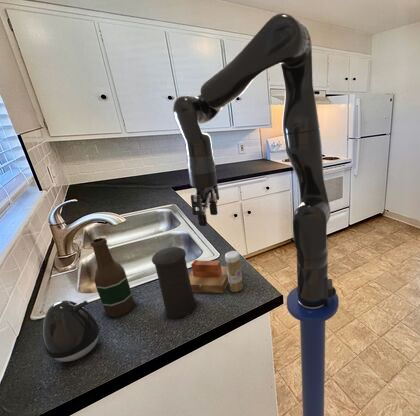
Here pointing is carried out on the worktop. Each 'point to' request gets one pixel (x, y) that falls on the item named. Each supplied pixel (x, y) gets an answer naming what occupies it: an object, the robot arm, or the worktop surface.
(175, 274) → the container
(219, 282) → the holder base
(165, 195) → the worktop surface
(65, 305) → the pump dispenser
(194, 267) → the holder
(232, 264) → the sprinkles bottle
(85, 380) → the worktop surface
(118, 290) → the beer bottle
